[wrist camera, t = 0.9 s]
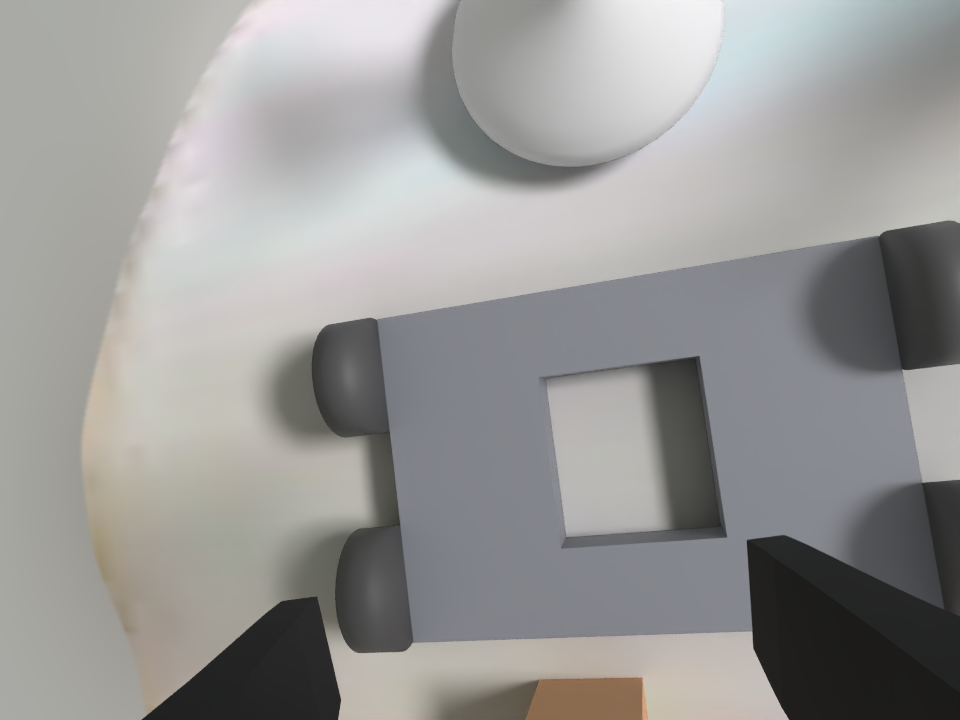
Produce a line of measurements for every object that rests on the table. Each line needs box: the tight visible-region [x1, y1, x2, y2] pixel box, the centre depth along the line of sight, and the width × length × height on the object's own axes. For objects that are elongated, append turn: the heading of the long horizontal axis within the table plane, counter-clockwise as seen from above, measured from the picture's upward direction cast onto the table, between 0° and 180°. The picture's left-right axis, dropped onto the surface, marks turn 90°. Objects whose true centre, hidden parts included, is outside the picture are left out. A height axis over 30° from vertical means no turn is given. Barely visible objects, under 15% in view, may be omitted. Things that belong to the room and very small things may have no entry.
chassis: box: [312, 221, 960, 653], centre depth 25 cm, size 14×24×5 cm, turn 97°
